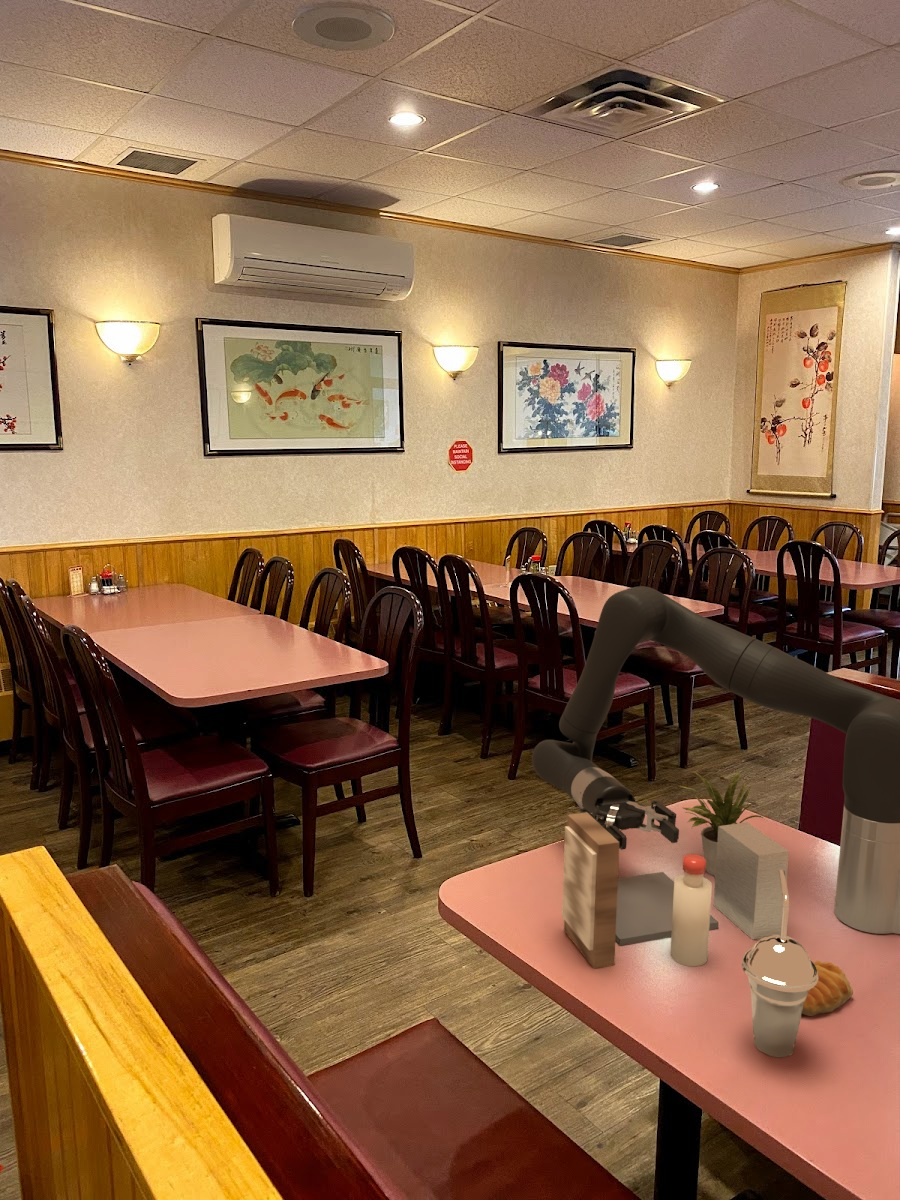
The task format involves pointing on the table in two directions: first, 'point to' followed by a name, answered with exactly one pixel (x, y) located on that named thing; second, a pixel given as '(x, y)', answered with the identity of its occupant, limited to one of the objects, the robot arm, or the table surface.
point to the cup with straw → (778, 986)
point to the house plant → (717, 817)
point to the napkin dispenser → (749, 879)
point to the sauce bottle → (691, 913)
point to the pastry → (827, 990)
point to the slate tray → (646, 908)
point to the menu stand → (590, 888)
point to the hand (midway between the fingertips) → (650, 840)
